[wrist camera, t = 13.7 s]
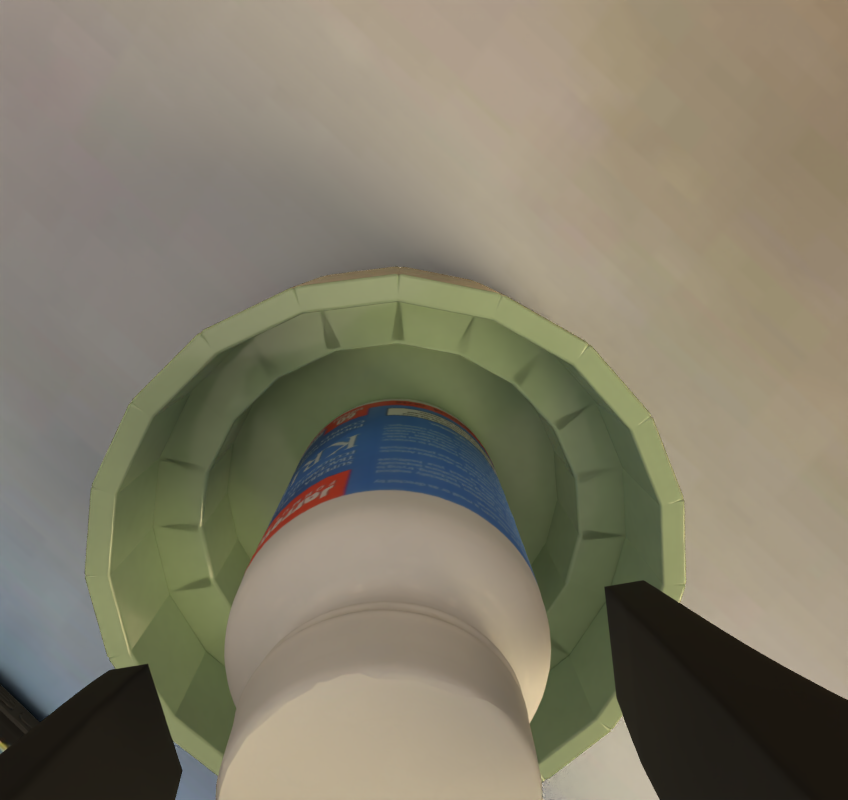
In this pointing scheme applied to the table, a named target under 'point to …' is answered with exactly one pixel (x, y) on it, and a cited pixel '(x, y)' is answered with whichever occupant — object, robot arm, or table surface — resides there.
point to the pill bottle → (387, 624)
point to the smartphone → (13, 720)
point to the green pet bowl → (315, 408)
